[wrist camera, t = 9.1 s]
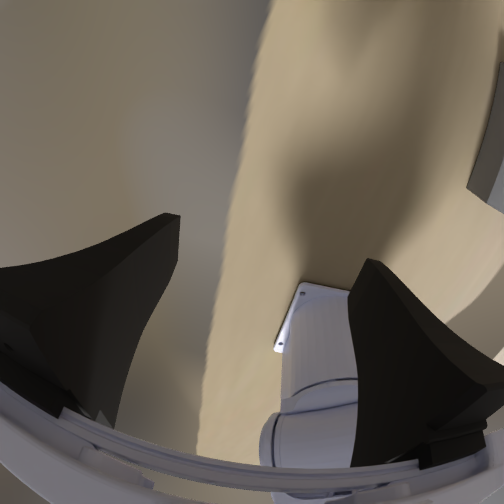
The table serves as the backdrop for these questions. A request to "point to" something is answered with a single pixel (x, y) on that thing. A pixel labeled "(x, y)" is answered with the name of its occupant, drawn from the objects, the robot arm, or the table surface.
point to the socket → (492, 155)
